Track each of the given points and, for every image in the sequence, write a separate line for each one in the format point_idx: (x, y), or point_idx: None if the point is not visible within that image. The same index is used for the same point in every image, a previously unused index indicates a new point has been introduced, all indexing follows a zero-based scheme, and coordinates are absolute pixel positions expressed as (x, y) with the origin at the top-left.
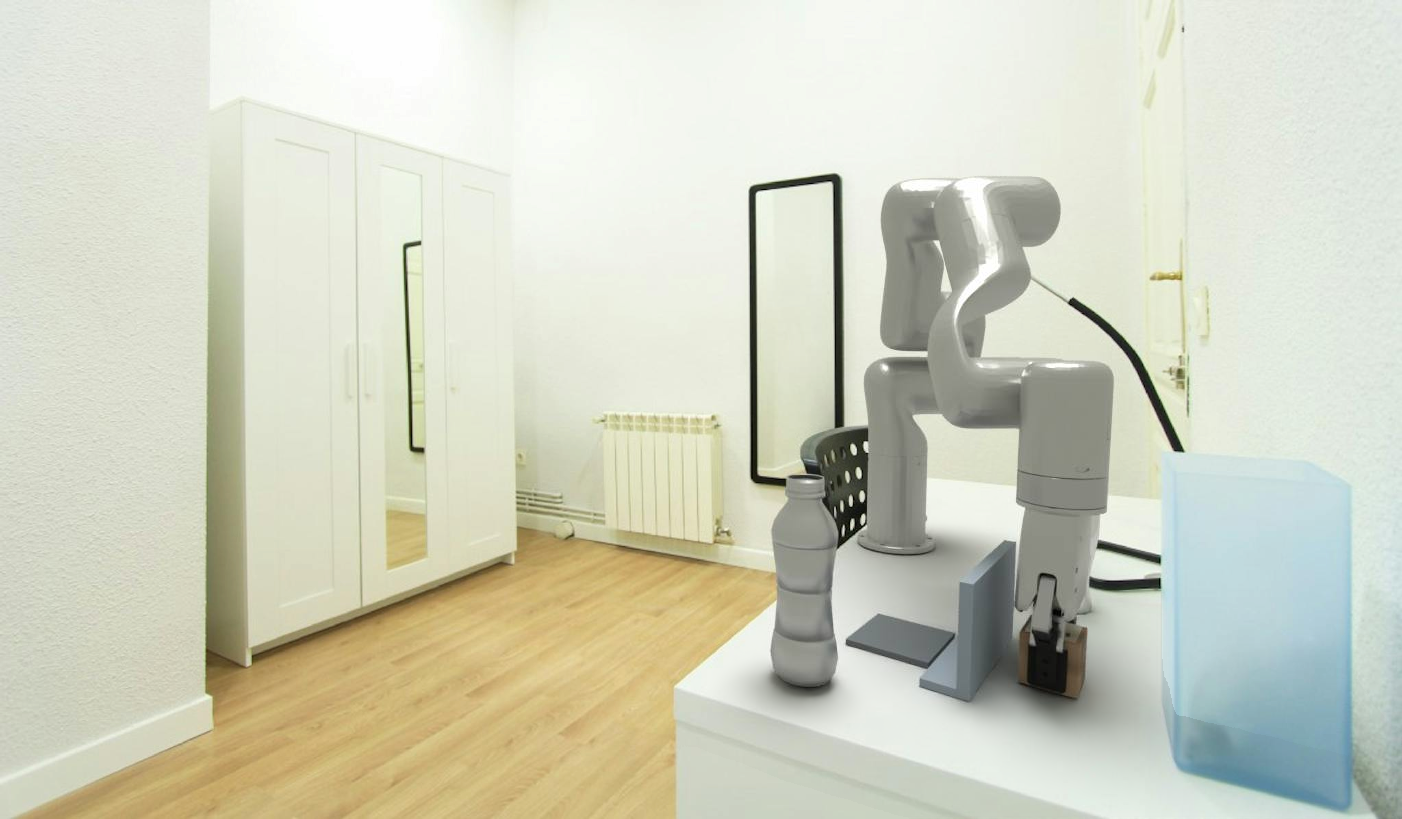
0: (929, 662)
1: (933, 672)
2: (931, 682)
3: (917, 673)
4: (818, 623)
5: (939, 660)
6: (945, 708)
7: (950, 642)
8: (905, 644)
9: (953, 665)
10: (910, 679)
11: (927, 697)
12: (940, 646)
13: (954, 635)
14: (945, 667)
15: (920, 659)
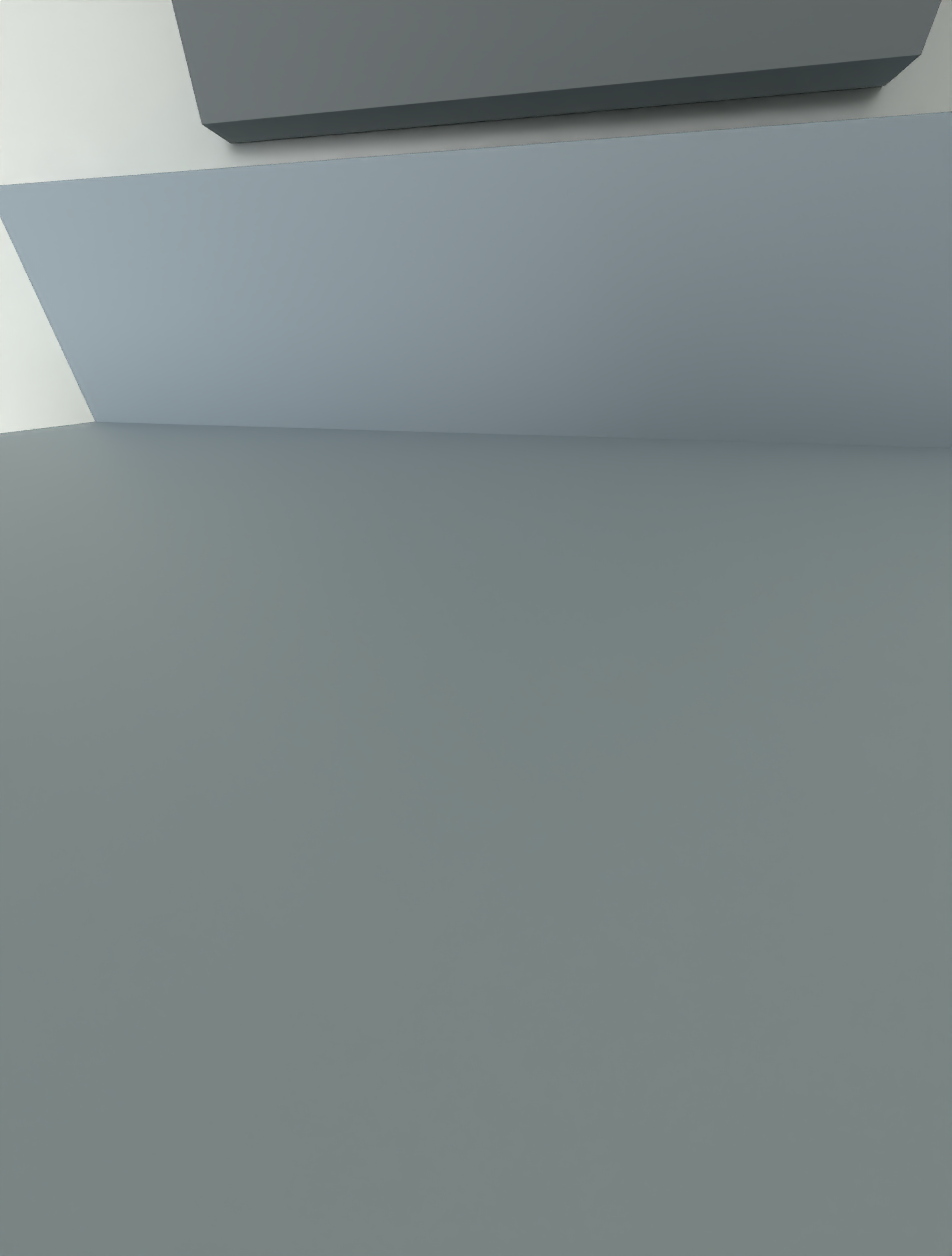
0: (233, 126)
1: (110, 240)
2: (34, 280)
3: (130, 103)
4: None
5: (265, 201)
6: (38, 405)
7: (742, 96)
8: None
9: (274, 323)
10: (41, 100)
11: (18, 298)
12: (512, 70)
13: (885, 70)
14: (217, 286)
15: (194, 22)
